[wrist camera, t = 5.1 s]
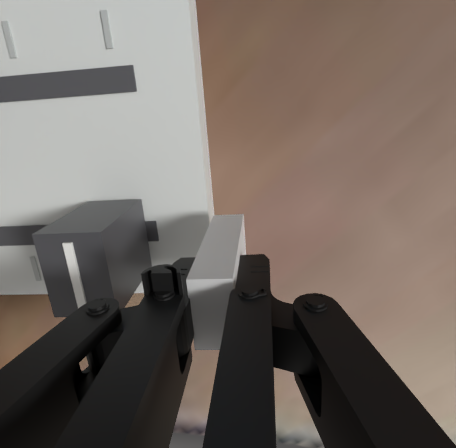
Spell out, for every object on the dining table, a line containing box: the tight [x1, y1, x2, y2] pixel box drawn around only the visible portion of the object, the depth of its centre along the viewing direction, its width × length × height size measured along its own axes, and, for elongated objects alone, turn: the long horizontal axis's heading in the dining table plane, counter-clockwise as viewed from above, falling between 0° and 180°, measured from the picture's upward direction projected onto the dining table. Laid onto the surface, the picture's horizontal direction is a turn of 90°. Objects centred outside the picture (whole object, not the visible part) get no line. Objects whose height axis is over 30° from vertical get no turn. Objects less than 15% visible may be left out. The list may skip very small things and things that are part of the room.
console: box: [0, 0, 214, 295], centre depth 20 cm, size 16×22×2 cm
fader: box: [32, 199, 152, 317], centre depth 17 cm, size 4×3×5 cm
